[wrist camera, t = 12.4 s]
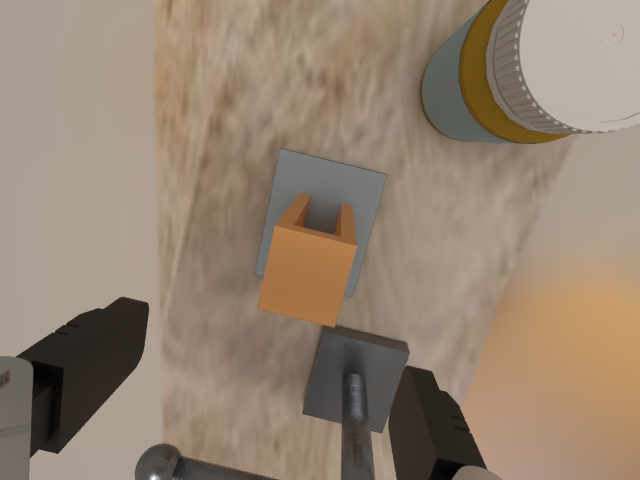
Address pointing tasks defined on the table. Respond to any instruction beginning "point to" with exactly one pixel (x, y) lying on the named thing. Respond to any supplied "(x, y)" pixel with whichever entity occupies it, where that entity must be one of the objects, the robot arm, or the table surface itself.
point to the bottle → (537, 72)
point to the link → (308, 266)
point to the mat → (323, 201)
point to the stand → (319, 407)
